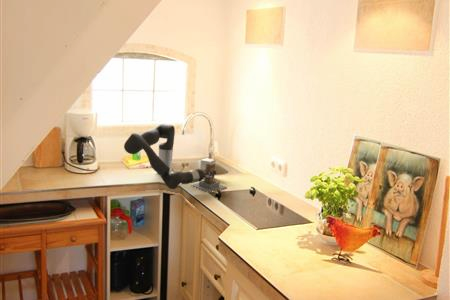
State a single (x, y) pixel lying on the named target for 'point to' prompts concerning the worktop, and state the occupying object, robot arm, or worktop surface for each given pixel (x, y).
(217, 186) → the well board
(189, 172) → the robot arm
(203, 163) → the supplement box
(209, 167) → the walnut post
